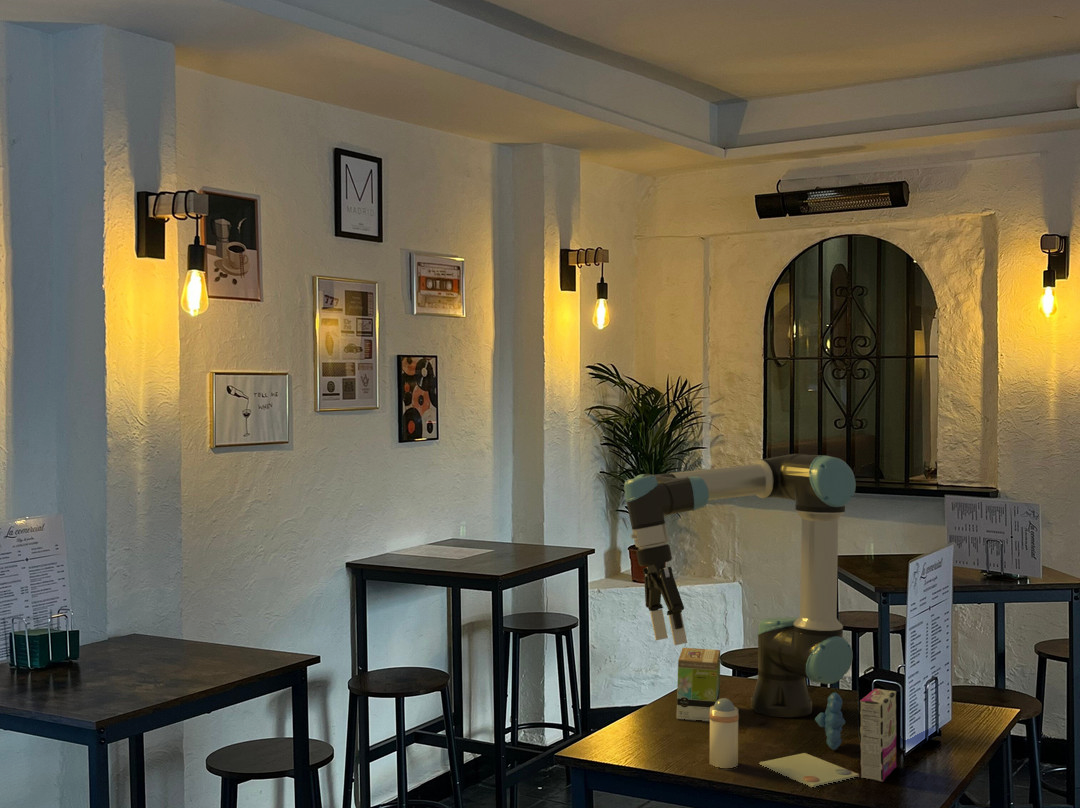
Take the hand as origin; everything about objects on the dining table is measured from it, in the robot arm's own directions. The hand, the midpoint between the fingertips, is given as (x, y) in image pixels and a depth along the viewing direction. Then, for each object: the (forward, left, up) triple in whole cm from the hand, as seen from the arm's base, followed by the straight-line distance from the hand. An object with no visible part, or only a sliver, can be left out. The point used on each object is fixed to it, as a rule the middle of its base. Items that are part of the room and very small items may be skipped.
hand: (671, 641), depth 247 cm
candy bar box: (-31, +31, -25) cm, 51 cm away
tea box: (-26, -23, -25) cm, 43 cm away
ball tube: (-6, +11, -25) cm, 28 cm away
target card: (-19, +23, -25) cm, 39 cm away
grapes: (-35, +13, -25) cm, 45 cm away
